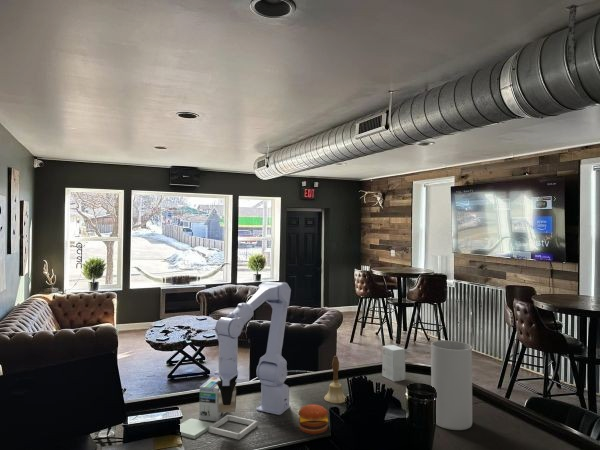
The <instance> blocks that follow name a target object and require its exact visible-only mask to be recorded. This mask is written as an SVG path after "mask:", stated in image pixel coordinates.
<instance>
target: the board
mask: <svg viewBox="0 0 600 450" xmlns="http://www.w3.org/2000/svg"><path fill="white" fill-rule="evenodd" d="M213 424H214V423H213V422H208V421H206V420H200V419H197V418H189V419H187V420H185V421H183V422H182V423H180V424H179V425H180V432H181V435H180V436H181V437H185V438H186V437H187V438H189V439H195V440H196V439H197V438H198V437H200V436H201V435H203V434H204V433H206V432H208V430H209V426H211V425H213Z"/></svg>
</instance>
